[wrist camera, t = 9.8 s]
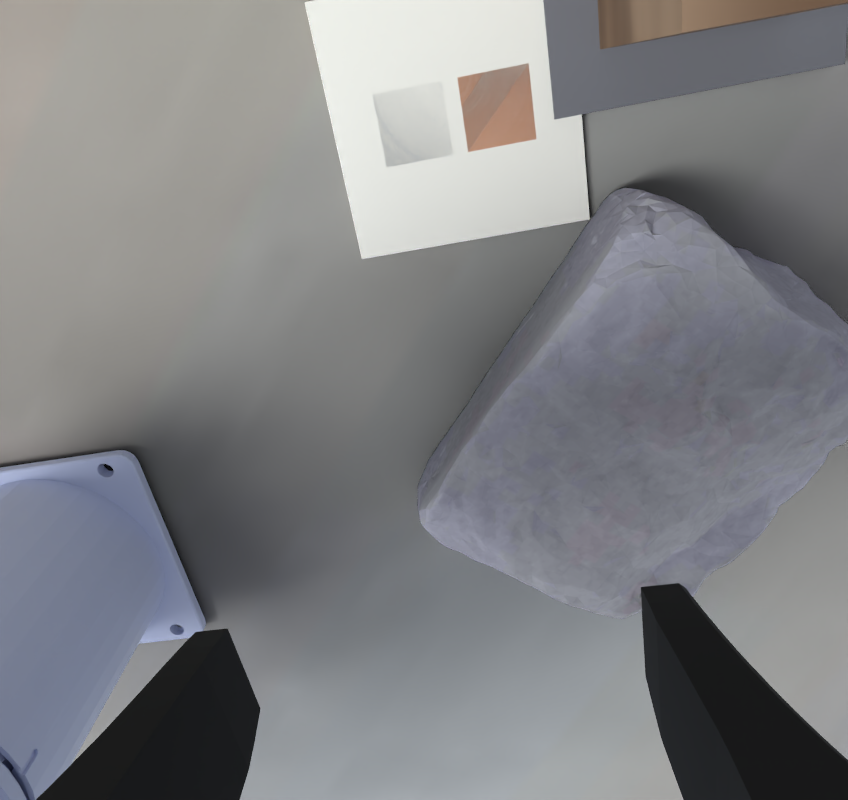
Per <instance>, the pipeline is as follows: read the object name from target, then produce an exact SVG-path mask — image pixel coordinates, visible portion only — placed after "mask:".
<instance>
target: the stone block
mask: <svg viewBox="0 0 848 800" xmlns="http://www.w3.org/2000/svg"><path fill="white" fill-rule="evenodd" d="M847 439H848V324H847V323H846V322H844V321H843V320H842V319H841V318H840V317H839V316H838V315H837V314H836V313H835V312H834V311H833V309H832V308H831V307H830V306H829V305H828V304H826V303H825V302H823V301H822V300H820V299H819V298H817V297H816V296H815V294H814V293H813V292H812V291H811V289H810V288H809V286H808V284H807V282H805V281H804V280H802V279H800V278H799V277H797V276H796V275H795V274H794V273H793V272H792V271H791V270H790V269H789V267H787V266H783V265H780V264H777V263H774V262H771V261H768V260H765V259H762V258H760V257H758V256H755V255H753V254H752V253H751V252H750V251H749V250H747V249H742V248H735V247H732V246H731V245H730V244H728V243H727V242H726V241H725V240H724V239H723V238H721V237H720V236H719V235H718V234H717V233H715V232H714V231H713V230H712V229H711V227H710V226H709V225H708V223H707V222H706V221H705V220H704V218H703V217H702V216H700V215H699V214H697V213H695V212H694V211H692V210H690V209H688V208H686V207H685V206H683V205H680V204H678V203H676V202H674V201H672V200H670V199H669V198H666V197H662V196H659V195H656V194H652V193H649V192H646V191H644V190H639V189H632V188H622V189H619V190H616V191H614V192H613V193H611V194H610V195H609V196H608V197H607V198H606V199H605V200H604V201H603V202H602V204H601V205H600V207H599V208H598V210H597V212H596V213H595V215H594V216H593V217H592V219H591V220H590V221H589V222H588V224H587V225H586V226H585V228H584V229H583V231H582V232H581V234H580V236H579V237H578V239H577V240H576V242H575V243H574V245H573V246H572V248H571V250H570V251H569V253H568V255H567V256H566V258H565V259H564V261H563V262H562V263H561V265H560V266H559V268H558V269H557V270H556V272H555V273H554V275H553V276H552V277H551V279H550V281H549V282H548V284H547V285H546V287H545V288H544V290H543V291H542V293H541V294H540V296H539V297H538V299H537V300H536V302H535V303H534V305H533V306H532V308H531V309H530V311H529V312H528V314H527V315H526V317H525V318H524V319H523V321H522V322H521V324H520V325H519V327H518V328H517V329H516V331H515V332H514V334H513V335H512V337H511V339H510V340H509V342H508V343H507V345H506V346H505V348H504V349H503V351H502V352H501V354H500V355H499V357H498V358H497V360H496V361H495V362H494V364H493V365H492V367H491V368H490V369H489V371H488V373H487V374H486V376H485V377H484V379H483V380H482V382H481V383H480V385H479V386H478V388H477V389H476V391H475V393H474V394H473V396H472V398H471V399H470V401H469V403H468V404H467V406H466V407H465V408H464V410H463V411H462V412H461V414H460V415H459V417H458V418H457V419H456V421H455V422H454V424H453V425H452V427H451V428H450V429H449V431H448V432H447V434H446V435H445V437H444V438H443V439H442V441H441V442H440V444H439V445H438V447H437V448H436V450H435V452H434V453H433V455H432V456H431V457H430V459H429V460H428V463H427V465H426V467H425V470H424V472H423V474H422V477H421V479H420V481H419V483H418V501H417V506H418V511H419V517H420V522H421V525H422V526H423V527H424V528H425V529H426V530H427V531H428V532H429V533H430V534H431V535H432V536H433V537H434V538H435V539H436V540H437V541H438V542H440V543H441V544H442V545H444V546H446V547H447V548H449V549H451V550H455V551H459V552H461V553H463V554H465V555H466V556H468V557H470V558H471V559H473V560H475V561H477V562H480V563H483V564H486V565H489V566H492V567H493V568H495V569H497V570H499V571H501V572H502V573H505V574H507V575H509V576H511V577H513V578H515V579H517V580H519V581H521V582H522V583H524V584H527V585H529V586H531V587H533V588H535V589H537V590H539V591H541V592H542V593H544V594H546V595H548V596H550V597H552V598H553V599H556V600H558V601H560V602H563V603H565V604H567V605H570V606H573V607H576V608H580V609H584V610H588V611H590V612H592V613H596V614H602V615H605V616H609V617H613V618H620V619H624V618H627V617H629V616H631V615H634V614H636V613H638V612H640V611H642V601H641V587H645V586H655V585H665V584H675V583H679V584H681V585H682V586H684V587H685V588H686V589H687V590H688V592H689V593H690V594H691V596H692V597H693V596H694V595H695V593H696V592H697V590H698V589H699V587H700V585H701V584H702V582H703V581H704V579H705V578H706V577H708V576H709V575H710V574H711V573H712V572H714V571H715V570H716V569H718V568H721V567H723V566H725V565H727V564H729V563H730V562H732V561H733V560H734V559H735V558H737V557H738V556H739V555H740V554H741V553H742V552H743V551H744V550H745V549H747V548H748V547H749V546H750V545H751V544H752V543H753V542H754V541H755V540H756V539H757V538H758V537H759V535H760V534H761V533H762V532H763V531H764V530H765V529H766V527H767V526H768V524H769V523H770V521H771V520H772V519H773V517H774V516H775V515H776V513H777V510H778V506H780V505H781V504H783V503H784V502H786V501H788V500H789V499H790V498H791V497H792V496H793V495H794V494H795V493H796V492H797V491H799V490H801V489H803V487H804V486H805V485H806V484H807V482H808V481H809V480H810V479H811V477H812V476H813V475H814V474H815V473H816V472H817V471H818V470H819V469H820V467H821V466H822V465H823V463H824V461H825V460H826V458H827V456H828V453H829V451H831V450H832V449H834V448H835V447H836V446H838V445H841V444H844V443H845V442H846V441H847Z"/></svg>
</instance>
